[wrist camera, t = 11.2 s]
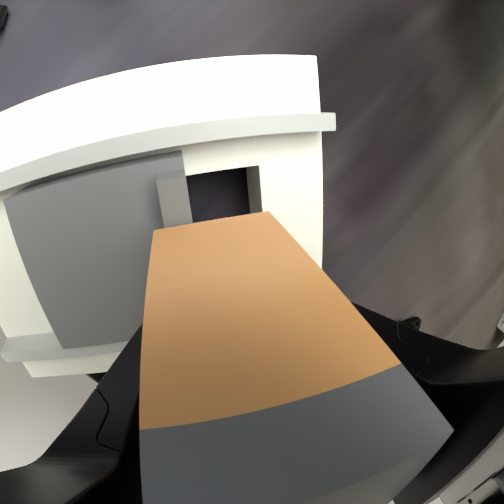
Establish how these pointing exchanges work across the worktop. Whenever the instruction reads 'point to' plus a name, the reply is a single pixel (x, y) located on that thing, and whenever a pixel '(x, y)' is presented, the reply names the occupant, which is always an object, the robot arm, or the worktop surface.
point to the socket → (156, 142)
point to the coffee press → (2, 15)
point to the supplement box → (501, 323)
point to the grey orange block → (268, 378)
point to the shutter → (97, 243)
